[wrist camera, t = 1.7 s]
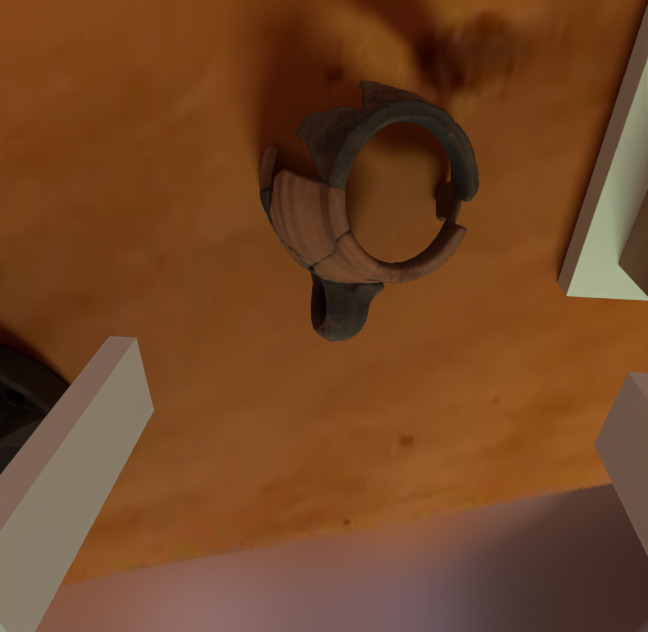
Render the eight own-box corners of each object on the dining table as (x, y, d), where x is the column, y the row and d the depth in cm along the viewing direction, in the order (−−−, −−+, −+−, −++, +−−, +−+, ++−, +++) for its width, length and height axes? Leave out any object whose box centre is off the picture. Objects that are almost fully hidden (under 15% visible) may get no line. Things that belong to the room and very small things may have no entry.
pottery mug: (245, 82, 23) (308, 59, 16) (410, 103, 27) (520, 91, 20) (242, 317, 27) (292, 381, 20) (387, 307, 31) (472, 358, 24)
